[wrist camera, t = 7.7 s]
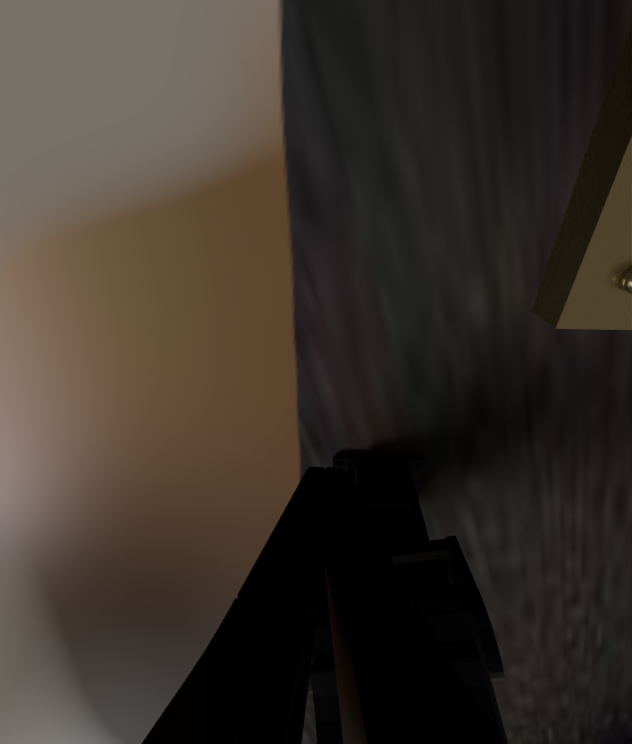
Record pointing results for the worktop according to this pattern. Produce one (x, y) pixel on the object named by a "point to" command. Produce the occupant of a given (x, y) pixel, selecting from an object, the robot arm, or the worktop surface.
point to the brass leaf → (597, 223)
